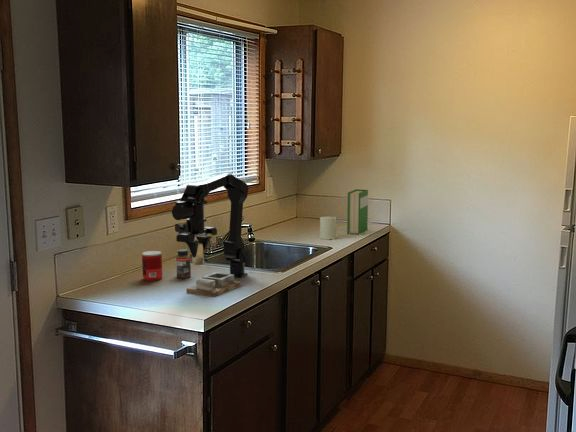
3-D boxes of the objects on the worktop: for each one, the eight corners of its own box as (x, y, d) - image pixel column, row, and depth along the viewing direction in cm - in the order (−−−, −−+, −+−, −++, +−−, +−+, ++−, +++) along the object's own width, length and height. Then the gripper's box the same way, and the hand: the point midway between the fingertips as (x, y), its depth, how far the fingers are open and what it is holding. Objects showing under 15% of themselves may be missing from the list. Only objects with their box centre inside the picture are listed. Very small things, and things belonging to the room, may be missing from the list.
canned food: (166, 278, 263) (165, 252, 261) (152, 282, 256) (151, 255, 254) (153, 275, 267) (152, 250, 265) (138, 279, 260) (137, 253, 259)
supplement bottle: (184, 274, 269) (183, 248, 268) (193, 276, 266) (193, 249, 264) (173, 276, 265) (172, 250, 263) (183, 279, 261) (182, 252, 259)
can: (331, 240, 344) (331, 218, 342) (316, 238, 349) (316, 217, 347) (339, 237, 352) (339, 216, 350) (324, 236, 356) (324, 215, 355)
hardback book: (359, 235, 359) (360, 193, 356) (347, 234, 362) (347, 192, 358) (367, 230, 376) (368, 189, 372) (355, 229, 378) (355, 189, 375)
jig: (213, 281, 257) (213, 270, 256) (240, 285, 251) (240, 274, 250) (186, 292, 241) (186, 280, 240) (214, 296, 235) (214, 284, 234)
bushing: (197, 261, 249) (196, 242, 248) (206, 263, 247) (205, 243, 246) (190, 264, 245) (189, 244, 244) (199, 265, 243) (198, 245, 242)
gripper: (194, 211, 255) (196, 249, 257) (164, 218, 239) (165, 259, 241) (217, 213, 249) (218, 252, 252) (187, 220, 233) (189, 262, 236)
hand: (197, 256), depth 246 cm, fingers closed on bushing, 4 cm apart
